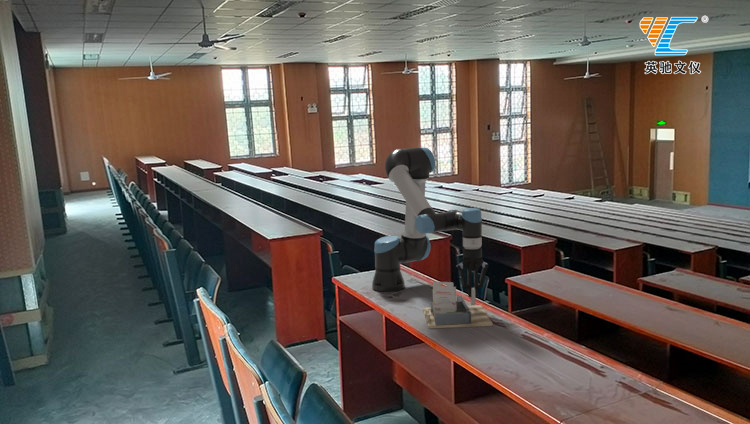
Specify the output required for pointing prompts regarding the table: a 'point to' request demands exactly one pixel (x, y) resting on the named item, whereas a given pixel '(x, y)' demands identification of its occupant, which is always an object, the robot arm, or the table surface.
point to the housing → (454, 314)
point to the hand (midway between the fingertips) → (473, 304)
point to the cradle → (477, 319)
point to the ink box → (444, 298)
